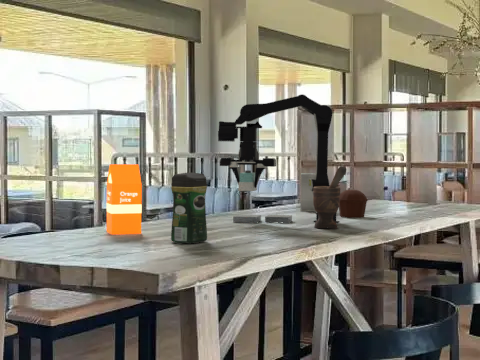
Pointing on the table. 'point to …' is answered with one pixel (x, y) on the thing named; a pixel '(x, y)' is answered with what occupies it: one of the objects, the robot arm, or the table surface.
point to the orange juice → (124, 199)
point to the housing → (247, 181)
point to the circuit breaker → (306, 192)
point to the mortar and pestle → (328, 201)
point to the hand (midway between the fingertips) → (247, 187)
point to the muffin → (352, 204)
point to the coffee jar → (189, 208)
